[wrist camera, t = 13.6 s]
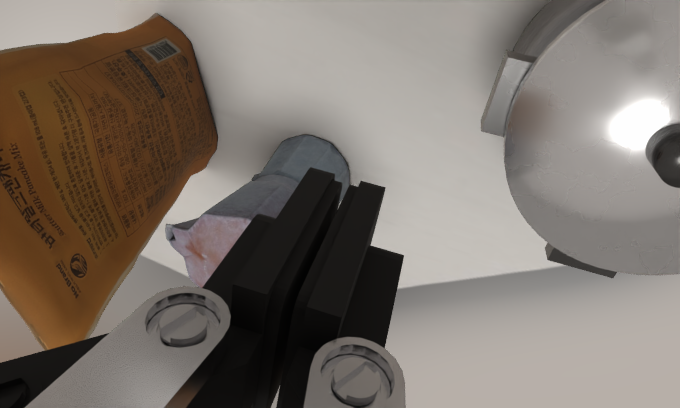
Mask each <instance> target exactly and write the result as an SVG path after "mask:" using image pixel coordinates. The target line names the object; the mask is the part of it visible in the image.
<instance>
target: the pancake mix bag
mask: <svg viewBox="0 0 680 408" xmlns="http://www.w3.org/2000/svg"><path fill="white" fill-rule="evenodd" d="M217 141H218V136H217V132H216V129H215V125H214V122H213V118H212V115H211V112H210V108H209V104H208V101H207V97H206V94H205V91H204V88H203V85H202V81H201V78H200V74H199V71H198V67H197V63H196V58H195V54H194V51H193V47H192V44H191V42H190V41H189V39H188V38H187V37H186V36H185V35H184V33H183V32H182V31H181V30H180V29H178V28H177V27H176V26H174V25H173V24H172V23H170V22H169V21H168V20H166V19H164V18H163V17H161V16H160V15H158V14H156V13H155V14H154V15H153V16H152V17H151V18H149V19H148V20H146V21H145V22H143V23H142V24H140V25H138V26H136V27H134V28H131V29H129V30H127V31H124V32H119V33H103V34H100V35H96V36H93V37H88V38H84V39H80V40H76V41H72V42H69V43H55V44H37V45H31V46H23V47H17V48H11V49H5V50H1V51H0V289H1V291H2V292H3V293H4V295H5V296H6V298H7V299H8V301H9V302H10V304H11V305H12V306H13V307H14V309H15V310H16V311H17V313H18V314H19V315H20V316H21V318H22V319H23V320H24V321H25V323H26V325H27V326H28V328H29V329H30V331H31V333H32V334H33V336H34V337H35V339H36V340H37V342H38V343H39V344H40V345H41V346H42V348H43V349H44V350H45V351H46V350H49V349H53V348H57V347H60V346H64V345H68V344H71V343H75V342H78V341H82V340H86V339H88V338H89V337H90V335H91V334H92V332H93V331H94V329H95V327H96V325H97V323H98V321H99V319H100V317H101V315H102V313H103V312H104V310H105V308H106V306H107V305H108V303H109V301H110V300H111V298H112V297H113V295H114V293H115V292H116V291H117V289H118V288H119V286H120V285H121V283H122V282H123V281H124V279H125V278H126V276H127V275H128V274H129V272H130V271H131V270H132V268H133V266H134V264H135V262H136V260H137V258H138V256H139V254H140V253H141V252H142V250H143V249H144V248H145V246H146V245H147V243H148V241H149V240H150V238H151V237H152V235H153V233H154V232H155V230H156V229H157V227H158V226H159V224H160V223H161V221H162V219H163V218H164V216H165V215H166V214H167V212H168V211H169V210H170V208H171V207H172V206H173V204H174V203H175V201H176V200H177V198H178V196H179V195H180V193H181V191H182V189H183V188H184V186H185V184H186V183H187V181H188V179H189V178H190V176H191V175H193V174H196V173H198V172H200V171H202V170H203V169H205V167H206V166H207V164H208V162H209V160H210V158H211V157H212V155H213V154H214V153H215V151H216V150H217Z"/></svg>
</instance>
